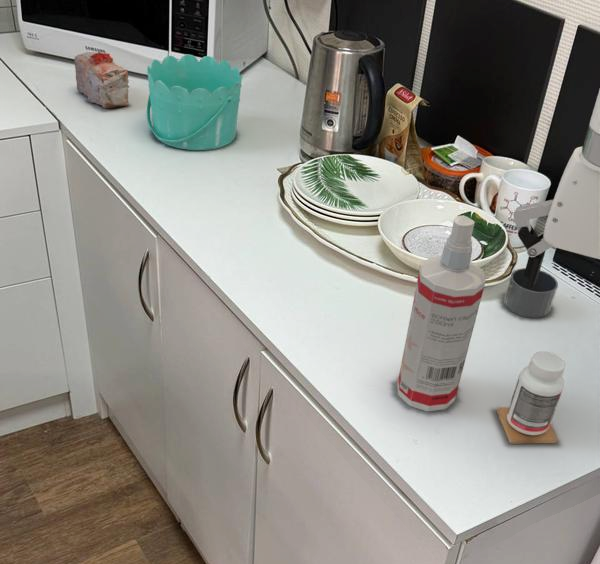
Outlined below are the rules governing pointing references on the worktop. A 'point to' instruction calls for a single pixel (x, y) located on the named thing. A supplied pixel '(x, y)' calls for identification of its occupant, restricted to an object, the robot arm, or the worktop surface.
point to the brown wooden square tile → (519, 437)
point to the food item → (101, 79)
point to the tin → (530, 294)
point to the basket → (193, 102)
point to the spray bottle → (441, 323)
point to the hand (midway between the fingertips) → (573, 295)
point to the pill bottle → (537, 394)
